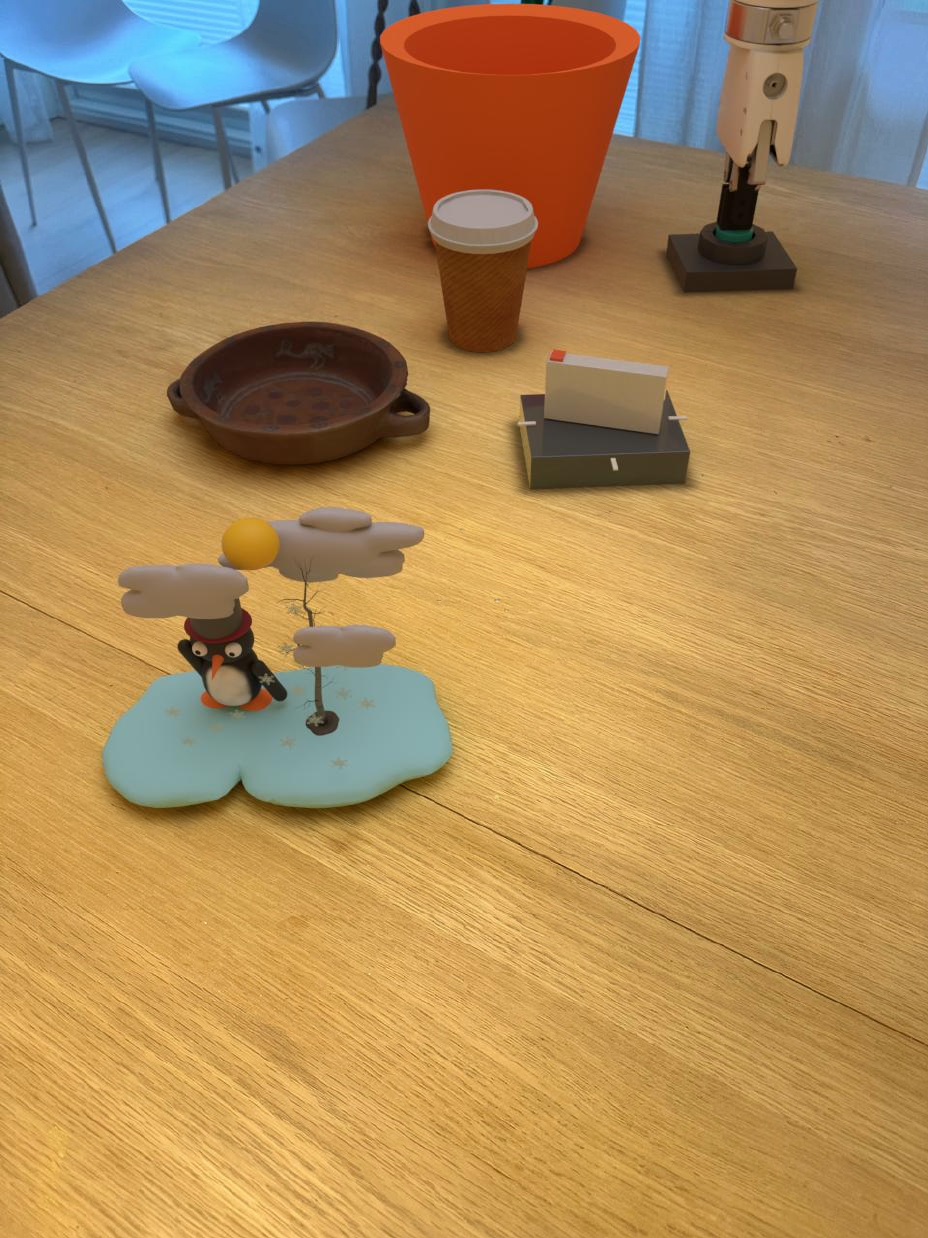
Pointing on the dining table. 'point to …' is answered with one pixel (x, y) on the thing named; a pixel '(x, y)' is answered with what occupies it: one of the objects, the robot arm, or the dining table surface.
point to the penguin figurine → (276, 680)
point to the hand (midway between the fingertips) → (733, 226)
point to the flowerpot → (512, 106)
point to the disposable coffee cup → (482, 264)
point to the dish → (300, 392)
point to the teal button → (734, 235)
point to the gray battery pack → (605, 392)
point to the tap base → (599, 451)
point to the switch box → (730, 262)
